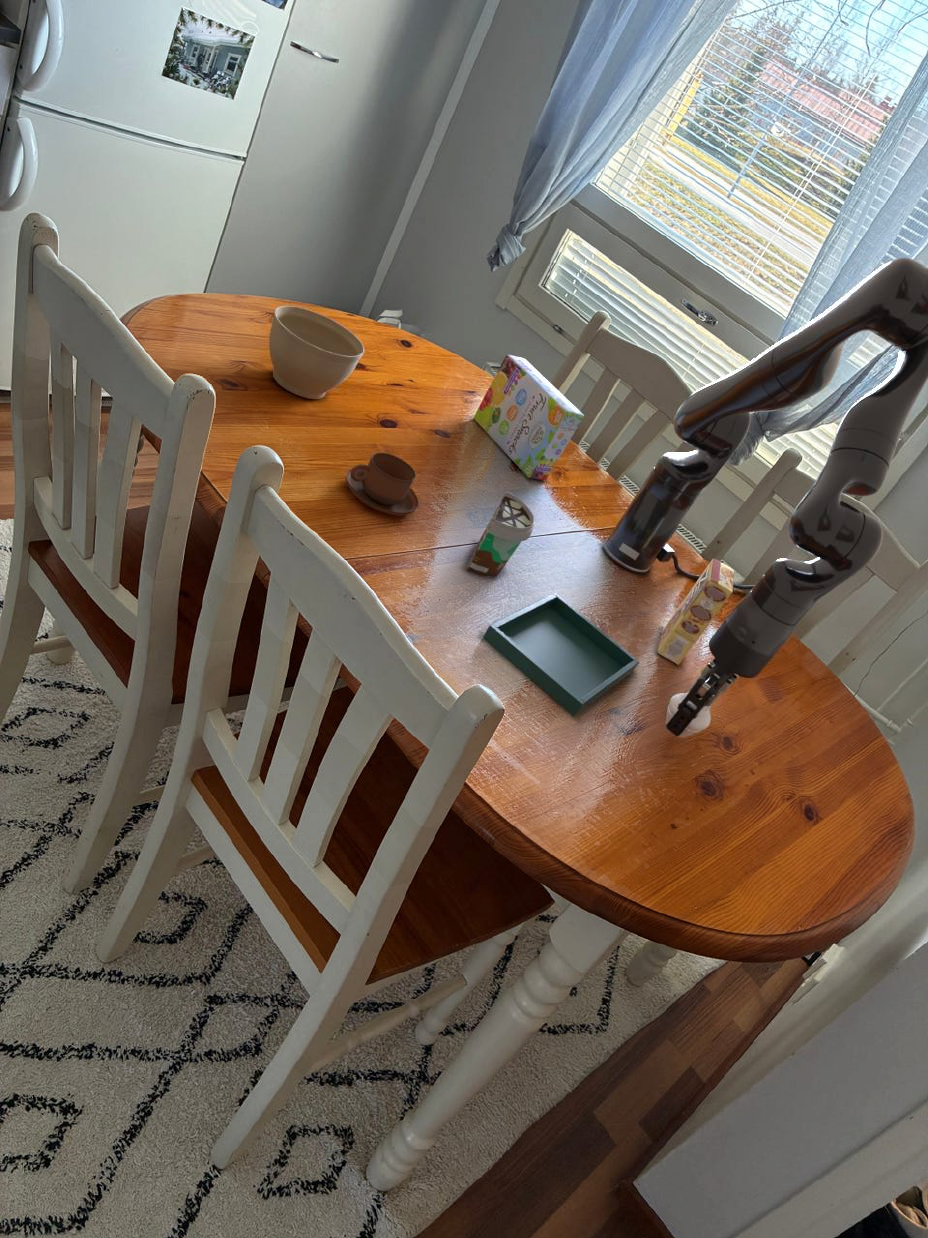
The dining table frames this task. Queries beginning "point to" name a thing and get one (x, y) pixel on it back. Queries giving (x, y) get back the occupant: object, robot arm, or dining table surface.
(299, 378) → the planter bowl
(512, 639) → the tray
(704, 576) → the candy box
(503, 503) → the food container
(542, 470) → the snack box
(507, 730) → the dining table surface
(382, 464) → the cup and saucer
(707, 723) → the muffin
